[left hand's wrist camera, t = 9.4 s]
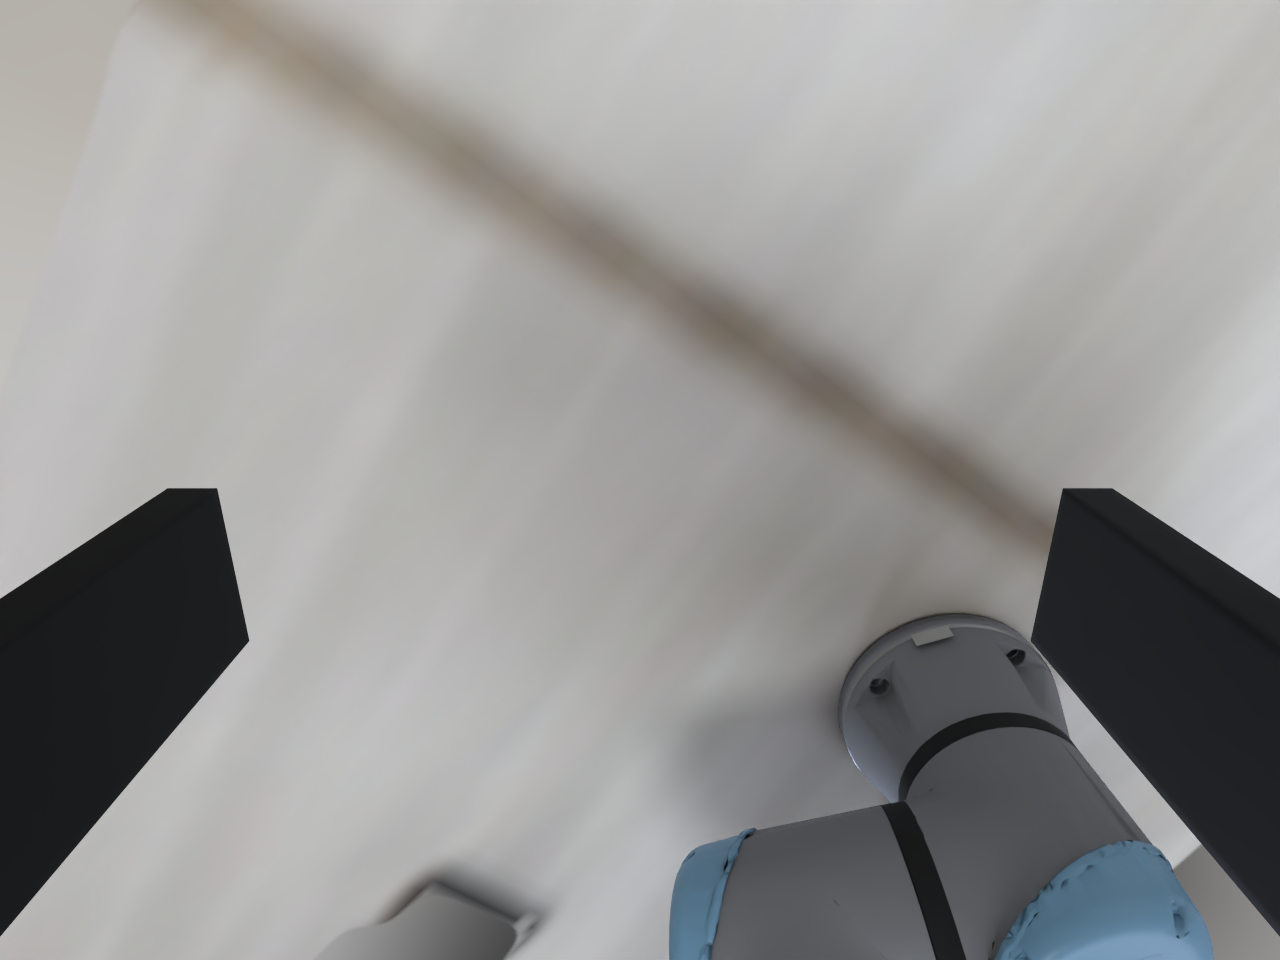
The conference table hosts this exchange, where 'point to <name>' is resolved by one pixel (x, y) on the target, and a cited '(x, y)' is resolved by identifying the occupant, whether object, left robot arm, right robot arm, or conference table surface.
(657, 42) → the conference table surface
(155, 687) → the left robot arm
